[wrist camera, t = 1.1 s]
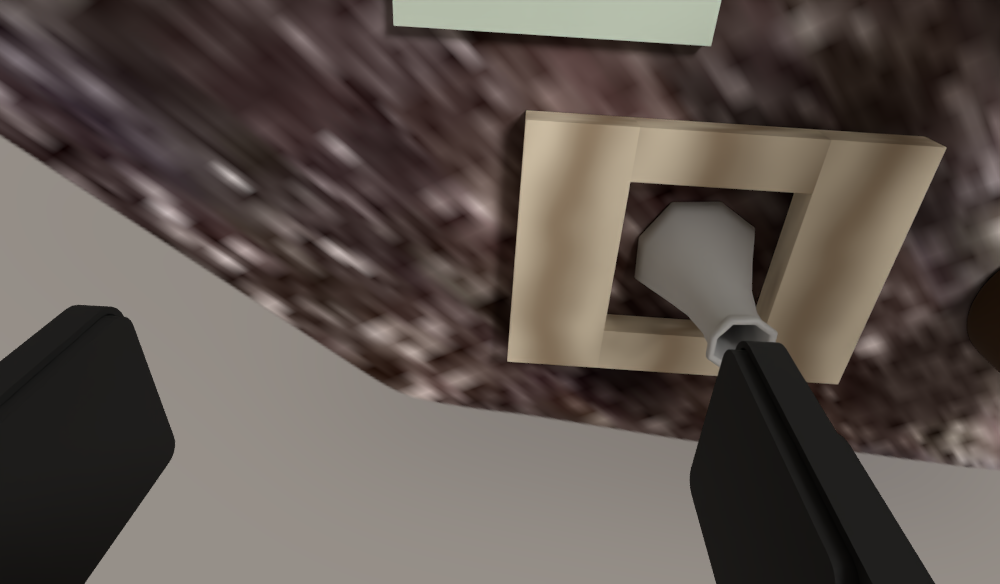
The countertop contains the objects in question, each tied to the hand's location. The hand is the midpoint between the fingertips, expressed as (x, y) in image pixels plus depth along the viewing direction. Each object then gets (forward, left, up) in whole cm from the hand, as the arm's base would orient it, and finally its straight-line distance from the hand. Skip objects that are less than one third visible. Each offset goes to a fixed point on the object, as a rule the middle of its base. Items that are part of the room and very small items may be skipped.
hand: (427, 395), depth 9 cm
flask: (-13, +10, -26) cm, 30 cm away
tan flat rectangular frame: (-13, +10, -26) cm, 30 cm away
